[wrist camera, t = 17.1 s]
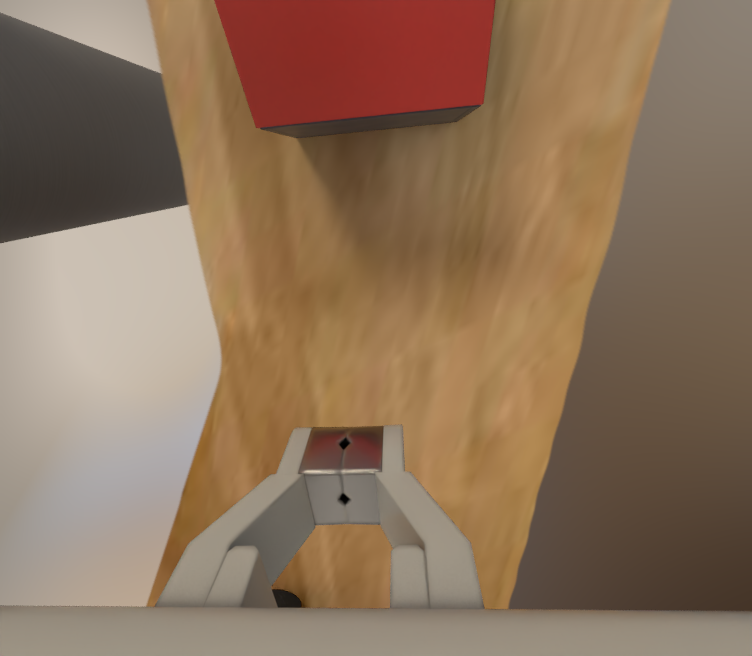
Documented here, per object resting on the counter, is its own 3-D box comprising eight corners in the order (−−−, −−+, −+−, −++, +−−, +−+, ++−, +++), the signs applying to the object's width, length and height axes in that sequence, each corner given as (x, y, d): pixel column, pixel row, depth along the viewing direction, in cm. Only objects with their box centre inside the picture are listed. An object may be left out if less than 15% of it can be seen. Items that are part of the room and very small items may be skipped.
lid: (482, 102, 19) (483, 104, 19) (257, 125, 20) (255, 128, 20) (503, -89, 14) (506, -90, 14) (202, -45, 15) (199, -44, 15)
